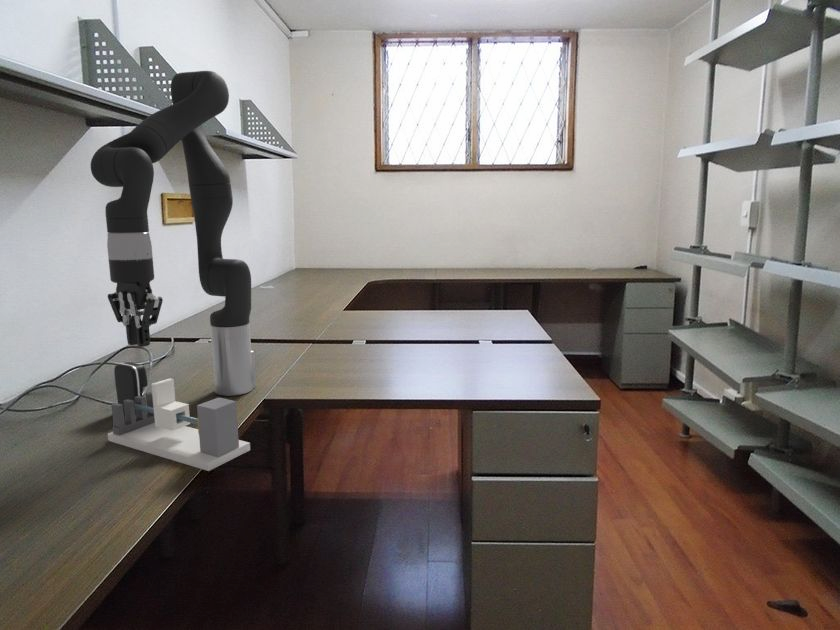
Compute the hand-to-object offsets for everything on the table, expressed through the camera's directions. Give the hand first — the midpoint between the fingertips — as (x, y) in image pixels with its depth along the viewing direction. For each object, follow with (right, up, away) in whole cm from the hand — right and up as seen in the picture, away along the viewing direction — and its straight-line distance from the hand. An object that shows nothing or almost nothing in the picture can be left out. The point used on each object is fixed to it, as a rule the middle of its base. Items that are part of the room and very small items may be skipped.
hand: (138, 344), depth 111 cm
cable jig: (+8, -20, -1) cm, 21 cm away
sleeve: (+7, -15, -1) cm, 17 cm away
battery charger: (-9, -16, +17) cm, 26 cm away
